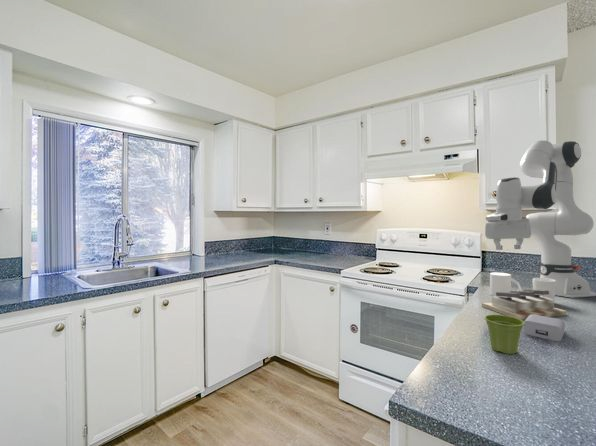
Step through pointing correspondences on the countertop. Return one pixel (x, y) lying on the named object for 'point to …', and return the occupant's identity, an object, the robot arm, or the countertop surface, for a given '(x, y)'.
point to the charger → (544, 327)
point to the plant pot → (504, 332)
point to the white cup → (545, 286)
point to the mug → (501, 283)
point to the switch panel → (523, 317)
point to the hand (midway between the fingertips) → (508, 249)
